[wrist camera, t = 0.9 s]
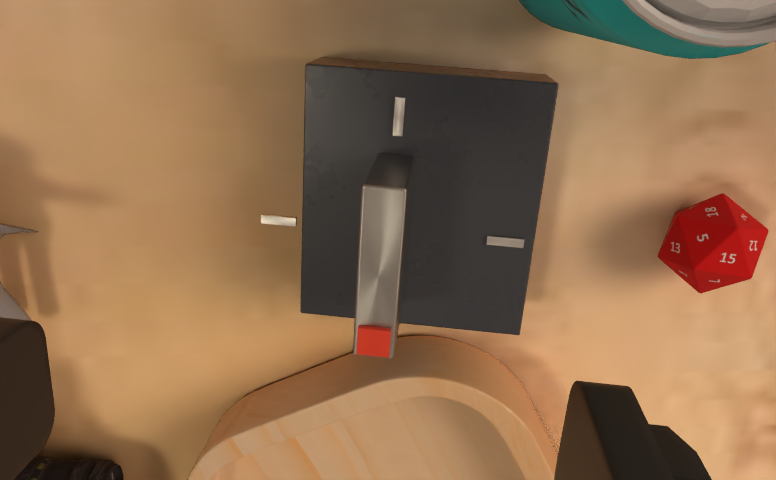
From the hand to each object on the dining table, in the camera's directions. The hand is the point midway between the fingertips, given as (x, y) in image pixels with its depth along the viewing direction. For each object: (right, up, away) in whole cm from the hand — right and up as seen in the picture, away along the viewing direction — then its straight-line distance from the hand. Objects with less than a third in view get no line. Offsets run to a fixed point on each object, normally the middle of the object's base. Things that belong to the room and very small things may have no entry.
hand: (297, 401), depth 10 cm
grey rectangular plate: (+1, +3, +15) cm, 15 cm away
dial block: (+3, +5, +18) cm, 18 cm away
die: (+14, +3, +17) cm, 23 cm away
